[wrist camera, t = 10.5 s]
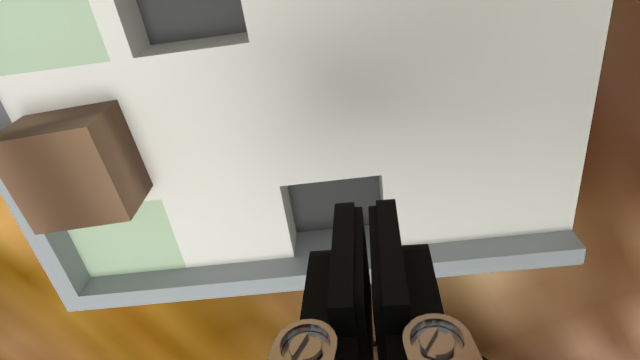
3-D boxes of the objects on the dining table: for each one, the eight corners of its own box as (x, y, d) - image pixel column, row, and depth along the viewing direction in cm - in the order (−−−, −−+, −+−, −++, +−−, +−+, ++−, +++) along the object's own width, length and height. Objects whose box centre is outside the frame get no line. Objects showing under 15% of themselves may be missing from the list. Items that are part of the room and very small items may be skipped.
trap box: (606, -172, 17) (676, -193, 14) (549, 217, 26) (583, 264, 23) (-61, -65, 19) (-145, -60, 16) (99, 262, 28) (68, 311, 25)
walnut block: (116, 99, 20) (86, 126, 18) (153, 185, 22) (130, 221, 20) (23, 115, 21) (-20, 145, 18) (68, 198, 23) (35, 235, 20)
